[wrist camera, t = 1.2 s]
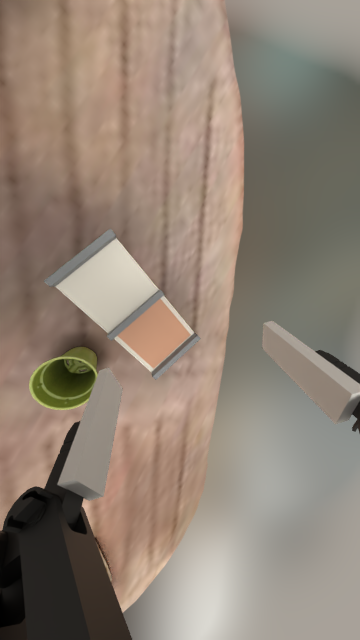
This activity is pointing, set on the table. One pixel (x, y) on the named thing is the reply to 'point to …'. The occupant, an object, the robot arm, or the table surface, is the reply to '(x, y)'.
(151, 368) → the slot board
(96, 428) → the robot arm
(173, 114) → the table surface
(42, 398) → the plant pot
